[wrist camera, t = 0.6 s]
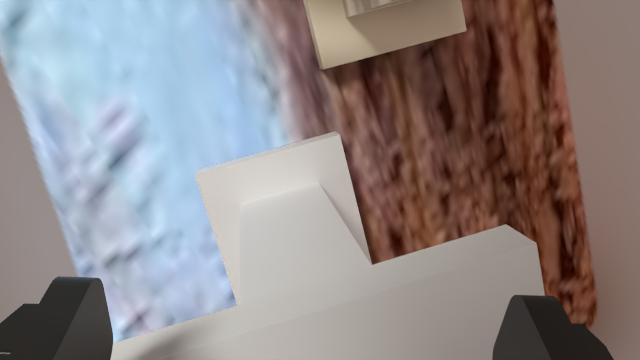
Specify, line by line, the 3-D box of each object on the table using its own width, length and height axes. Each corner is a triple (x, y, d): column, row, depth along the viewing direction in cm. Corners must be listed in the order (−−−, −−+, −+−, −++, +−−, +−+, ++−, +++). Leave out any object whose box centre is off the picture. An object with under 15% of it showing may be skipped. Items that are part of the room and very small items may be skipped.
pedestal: (181, 174, 33) (77, 384, 12) (350, 127, 34) (536, 243, 13) (228, 315, 36) (211, 696, 14) (384, 267, 36) (587, 560, 15)
